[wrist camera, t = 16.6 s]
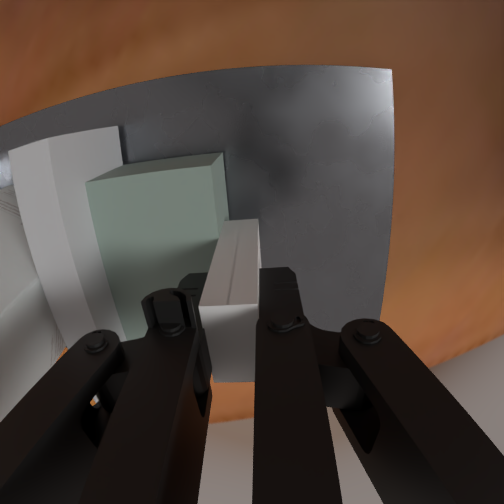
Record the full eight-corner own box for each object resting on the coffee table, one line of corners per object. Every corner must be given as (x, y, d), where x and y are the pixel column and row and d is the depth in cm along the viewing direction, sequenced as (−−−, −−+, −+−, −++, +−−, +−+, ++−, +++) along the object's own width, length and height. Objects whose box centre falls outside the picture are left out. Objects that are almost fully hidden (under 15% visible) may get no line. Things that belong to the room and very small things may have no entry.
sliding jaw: (83, 133, 14) (8, 151, 8) (218, 110, 14) (194, 107, 8) (129, 331, 19) (95, 402, 13) (241, 330, 19) (235, 411, 13)
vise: (-39, 147, 15) (-108, 171, 9) (384, 71, 14) (457, 54, 7) (17, 334, 21) (-25, 387, 15) (371, 331, 20) (405, 410, 14)
